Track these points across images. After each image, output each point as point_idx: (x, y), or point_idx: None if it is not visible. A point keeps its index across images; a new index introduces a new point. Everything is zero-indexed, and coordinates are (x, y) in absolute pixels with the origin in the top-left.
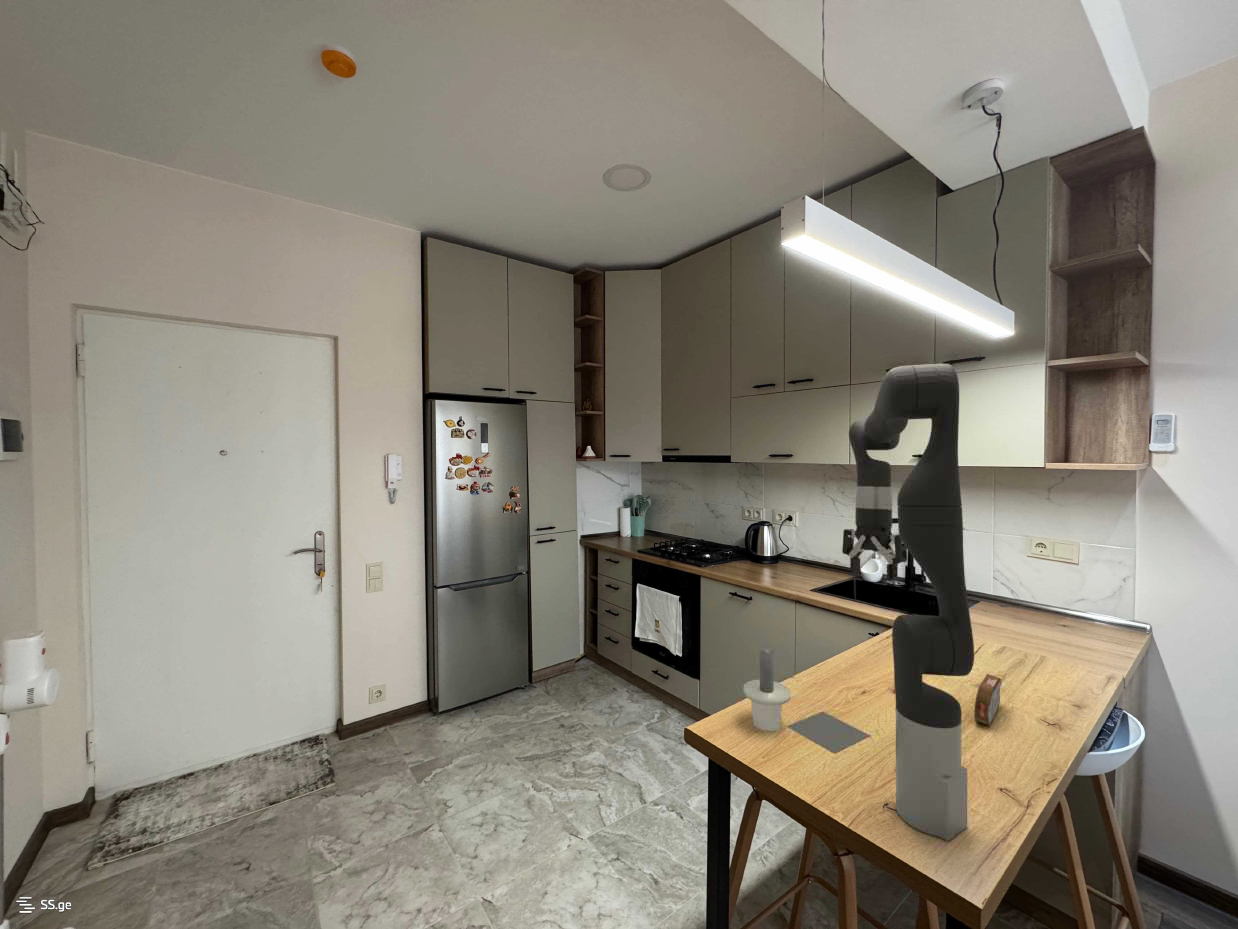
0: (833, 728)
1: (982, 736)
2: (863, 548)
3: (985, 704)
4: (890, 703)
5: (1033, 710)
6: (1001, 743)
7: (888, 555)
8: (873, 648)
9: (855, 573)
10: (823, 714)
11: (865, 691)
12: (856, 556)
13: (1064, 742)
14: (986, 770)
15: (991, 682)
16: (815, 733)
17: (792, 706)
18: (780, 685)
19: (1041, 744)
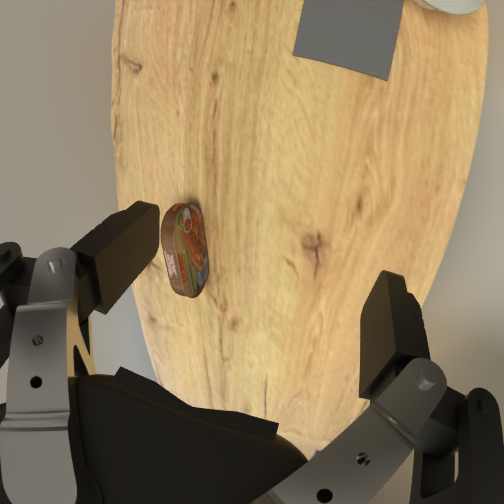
0: (346, 36)
1: (184, 176)
2: (293, 445)
3: (170, 211)
4: (310, 191)
5: None
6: (165, 174)
7: (35, 297)
8: None
9: (380, 277)
10: (381, 71)
11: (357, 210)
12: (383, 389)
13: None
14: (158, 92)
15: (170, 263)
16: (359, 5)
17: (433, 73)
18: (440, 1)
19: None
